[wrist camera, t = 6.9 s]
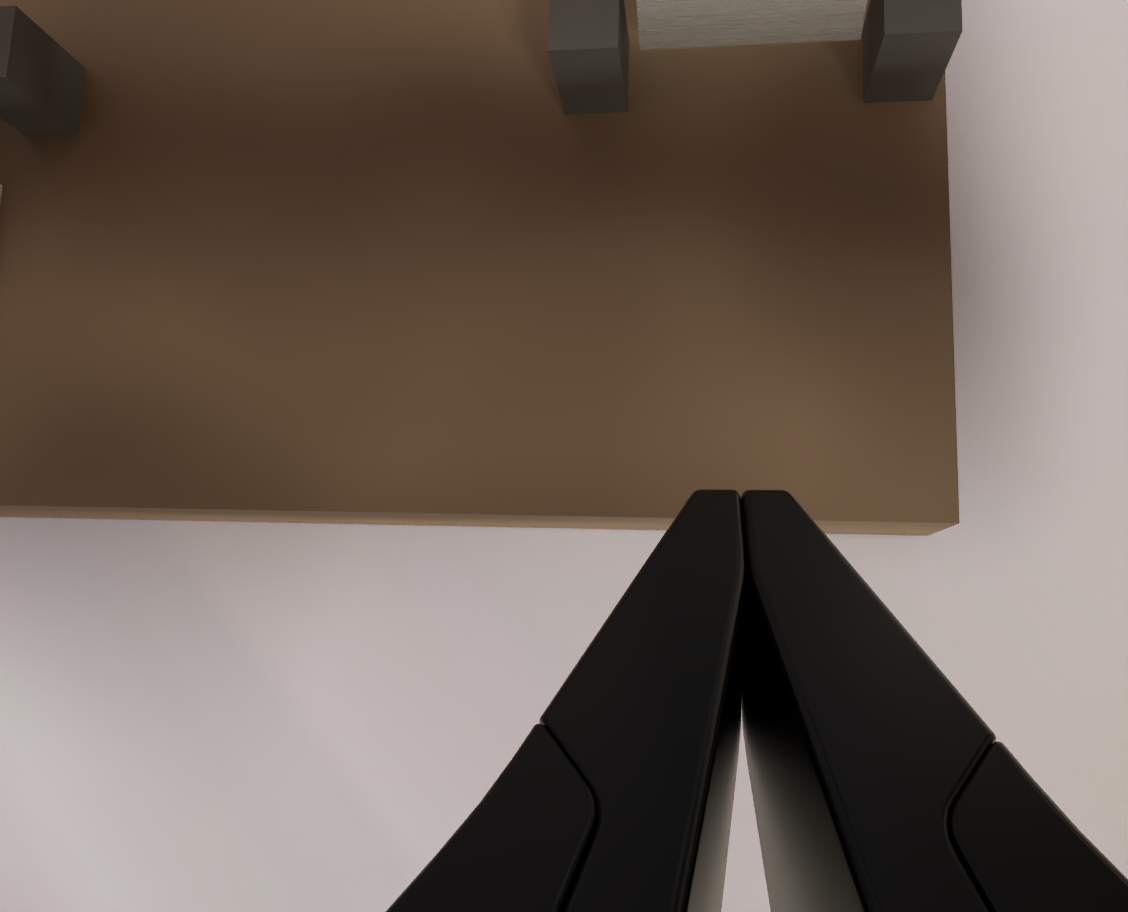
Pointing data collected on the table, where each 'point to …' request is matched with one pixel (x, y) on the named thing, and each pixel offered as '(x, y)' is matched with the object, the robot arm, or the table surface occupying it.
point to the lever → (746, 22)
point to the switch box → (470, 265)
